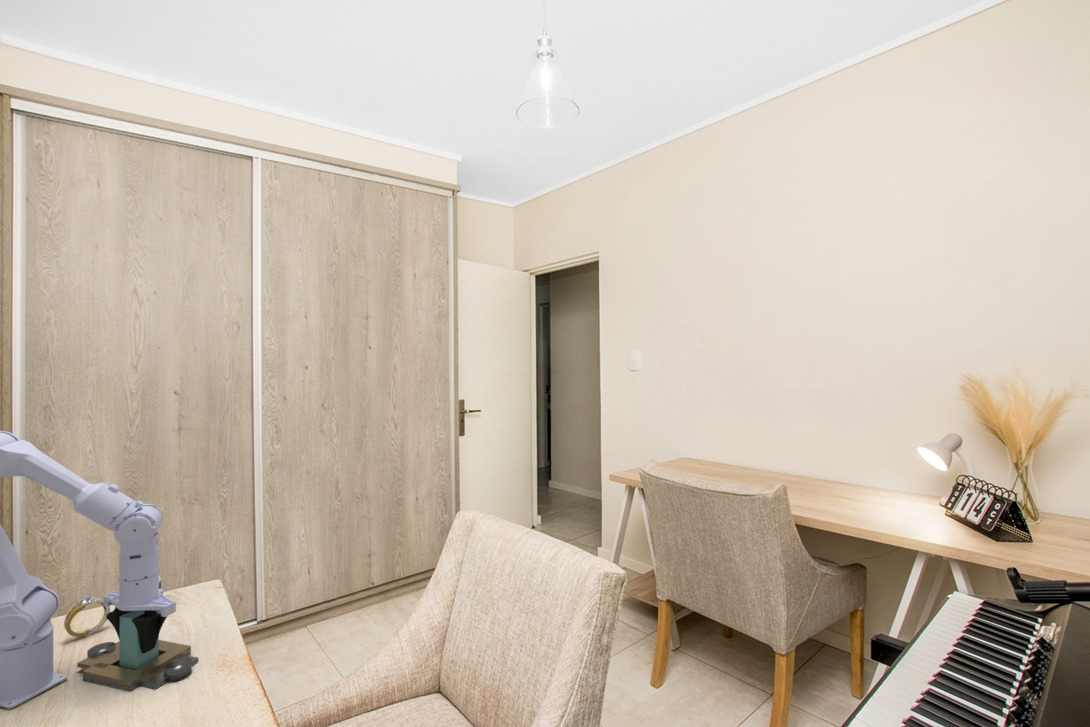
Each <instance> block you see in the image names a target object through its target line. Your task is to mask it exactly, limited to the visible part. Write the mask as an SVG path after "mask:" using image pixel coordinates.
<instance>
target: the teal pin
mask: <svg viewBox="0 0 1090 727" xmlns="http://www.w3.org/2000/svg"><path fill="white" fill-rule="evenodd" d="M142 614H144V611H130V612H128V613H126V614H124V615H122V616H120V640H119V641H120V643H119V666H122V668H127V669H131V670H136V669H138V668H140V667H141V666H143V665H145V664H147V663H148V662H150V661H152V660H153V659H155V658H157V657H159V640H160V635H159V636H158V639H157V642H156V646H155V648H154V649H152V650H150V651H148V652H146V653H142V652H141V649H140V644H139V635H138V632H137V629H136V627H135V625H134V623H133V622H132V619H134V618H136V617H138V616H140V615H142Z"/></svg>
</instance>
